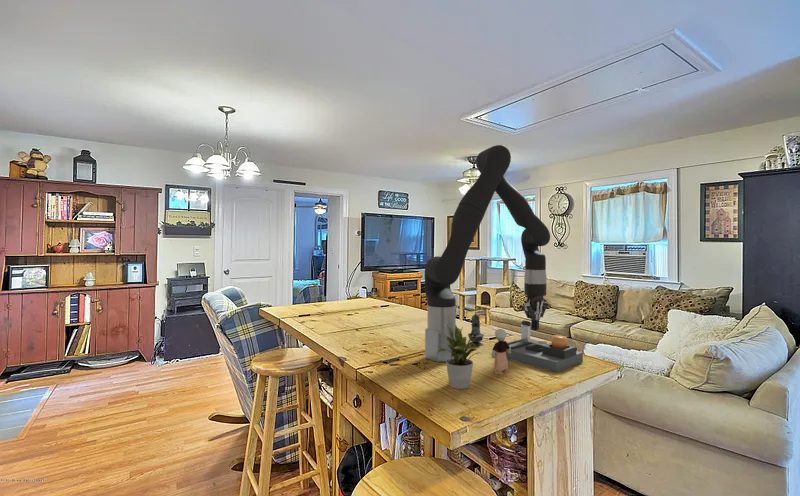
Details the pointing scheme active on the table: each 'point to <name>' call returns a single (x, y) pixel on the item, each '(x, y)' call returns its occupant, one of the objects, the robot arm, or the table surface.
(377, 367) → the table surface
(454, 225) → the robot arm
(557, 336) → the push button
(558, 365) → the control panel
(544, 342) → the rocker switch
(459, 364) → the house plant
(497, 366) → the grandmother figurine
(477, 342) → the dark grey ornate statuette
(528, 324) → the slide lever
